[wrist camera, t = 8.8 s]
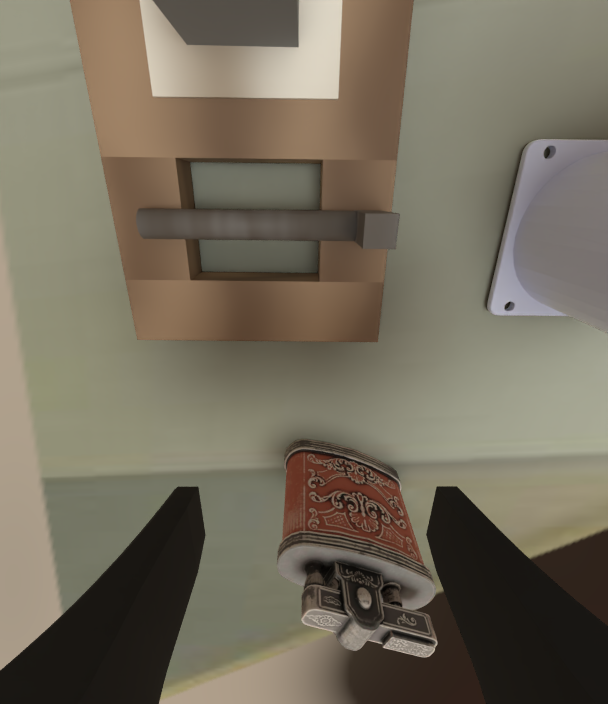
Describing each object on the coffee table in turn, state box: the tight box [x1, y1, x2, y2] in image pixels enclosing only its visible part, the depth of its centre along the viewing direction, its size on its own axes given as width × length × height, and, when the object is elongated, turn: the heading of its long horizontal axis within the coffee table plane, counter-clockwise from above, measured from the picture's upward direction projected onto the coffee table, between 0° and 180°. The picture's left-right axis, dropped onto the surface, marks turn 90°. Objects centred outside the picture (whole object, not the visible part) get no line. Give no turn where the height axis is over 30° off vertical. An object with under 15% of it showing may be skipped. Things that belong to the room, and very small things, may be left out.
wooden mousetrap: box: [70, 0, 414, 342], centre depth 13 cm, size 12×18×5 cm, turn 179°
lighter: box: [277, 439, 437, 657], centre depth 19 cm, size 8×3×10 cm, turn 67°
